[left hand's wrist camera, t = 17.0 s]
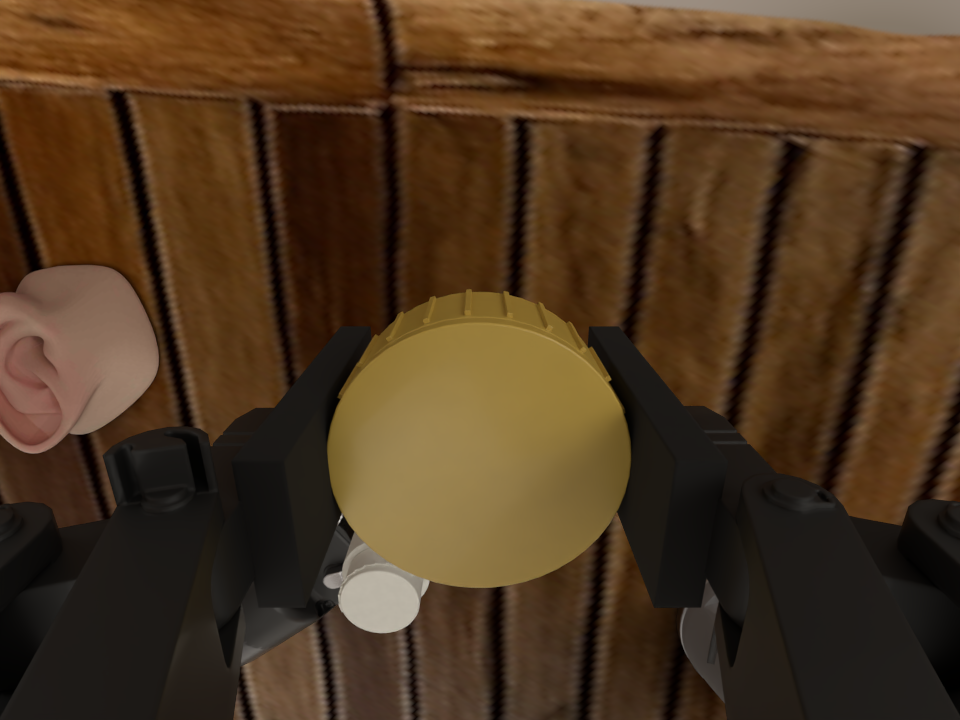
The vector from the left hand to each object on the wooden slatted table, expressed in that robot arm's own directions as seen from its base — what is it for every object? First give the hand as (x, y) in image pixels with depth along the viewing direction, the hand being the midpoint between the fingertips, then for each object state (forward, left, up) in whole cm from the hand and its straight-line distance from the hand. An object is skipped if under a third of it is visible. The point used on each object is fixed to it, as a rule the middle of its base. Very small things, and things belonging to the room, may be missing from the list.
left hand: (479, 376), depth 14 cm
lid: (0, 0, +4) cm, 4 cm away
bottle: (-16, +6, -24) cm, 30 cm away
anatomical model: (-7, +30, -24) cm, 39 cm away
